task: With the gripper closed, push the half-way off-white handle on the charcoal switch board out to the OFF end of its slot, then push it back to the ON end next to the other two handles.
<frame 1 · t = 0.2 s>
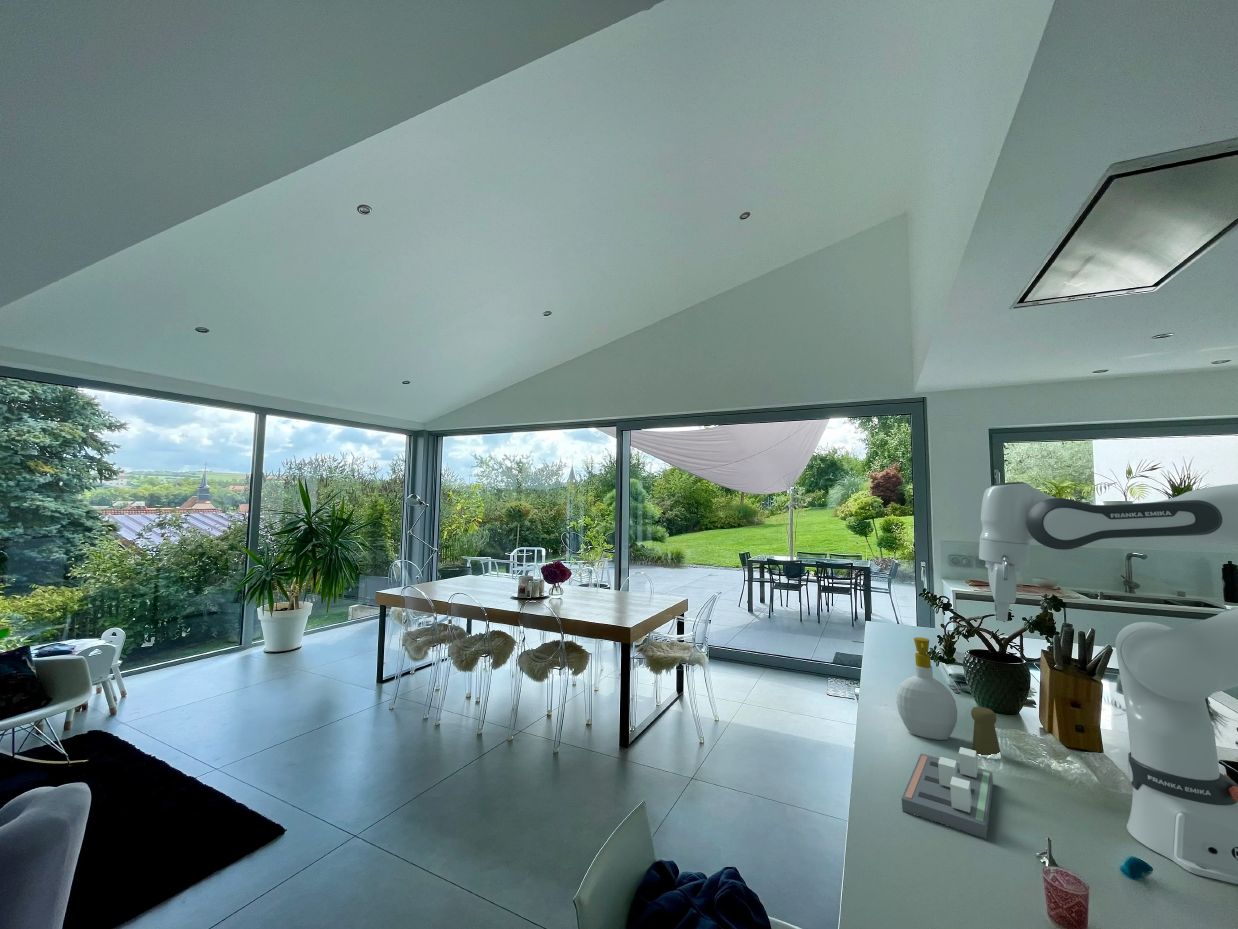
hand: (1000, 616, 109), 38 cm above the worktop, tool pointing down, fingers open, 8 cm apart
cork: (986, 754, 125), on the worktop
tripped switch: (948, 772, 107), point 5 cm above the worktop, slide at 3.0 cm
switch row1: (968, 762, 111), point 5 cm above the worktop, slide at 0.0 cm
soap bottle: (928, 737, 134), on the worktop
switch board: (949, 796, 106), on the worktop
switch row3: (960, 794, 99), point 5 cm above the worktop, slide at 0.0 cm
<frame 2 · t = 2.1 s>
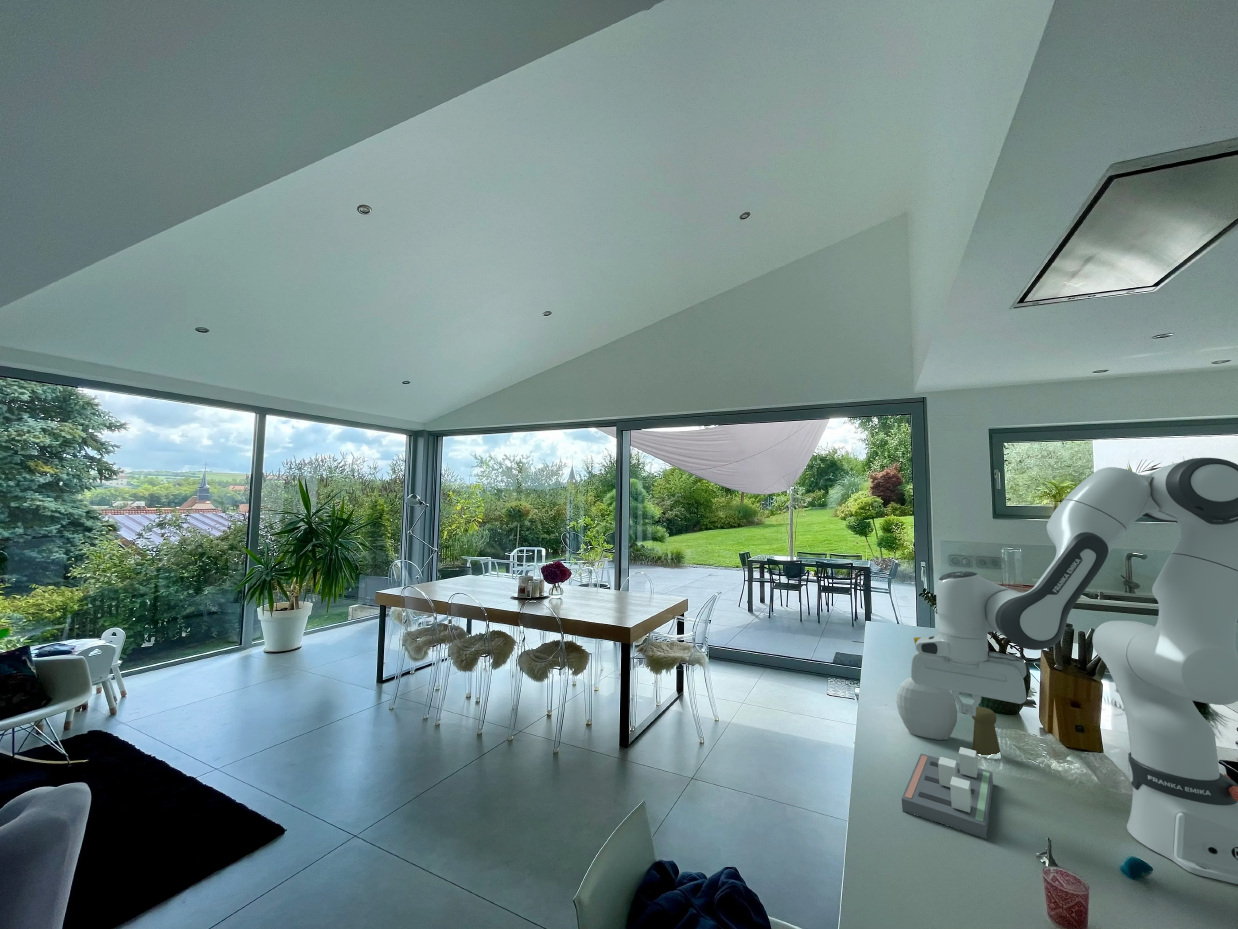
hand: (967, 713, 105), 18 cm above the worktop, tool pointing down, fingers closed
nothing on the worktop moved.
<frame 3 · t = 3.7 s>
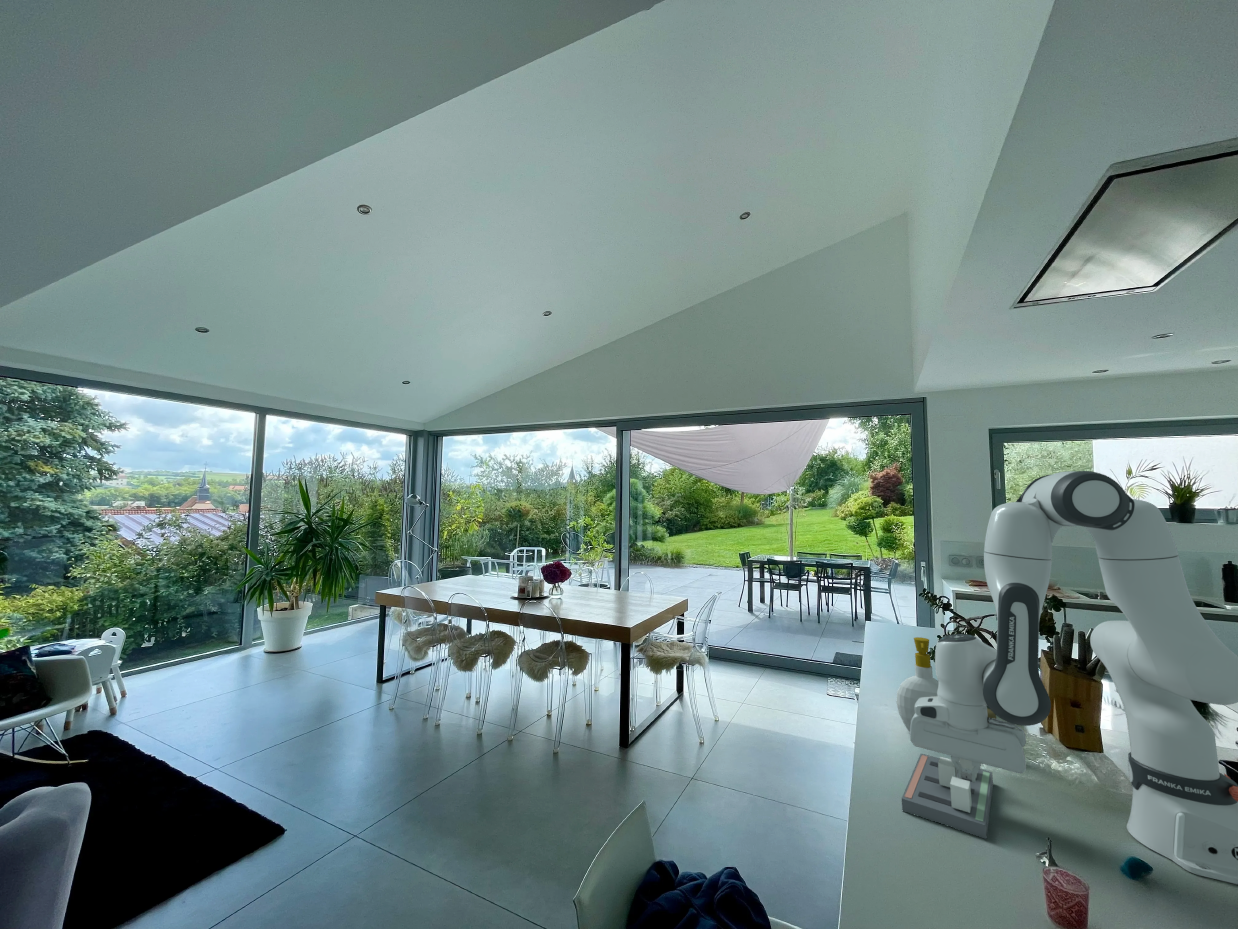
hand: (967, 779, 105), 5 cm above the worktop, tool pointing down, fingers closed
tripped switch: (948, 772, 107), point 5 cm above the worktop, slide at 3.0 cm, touching gripper
everything else where it was.
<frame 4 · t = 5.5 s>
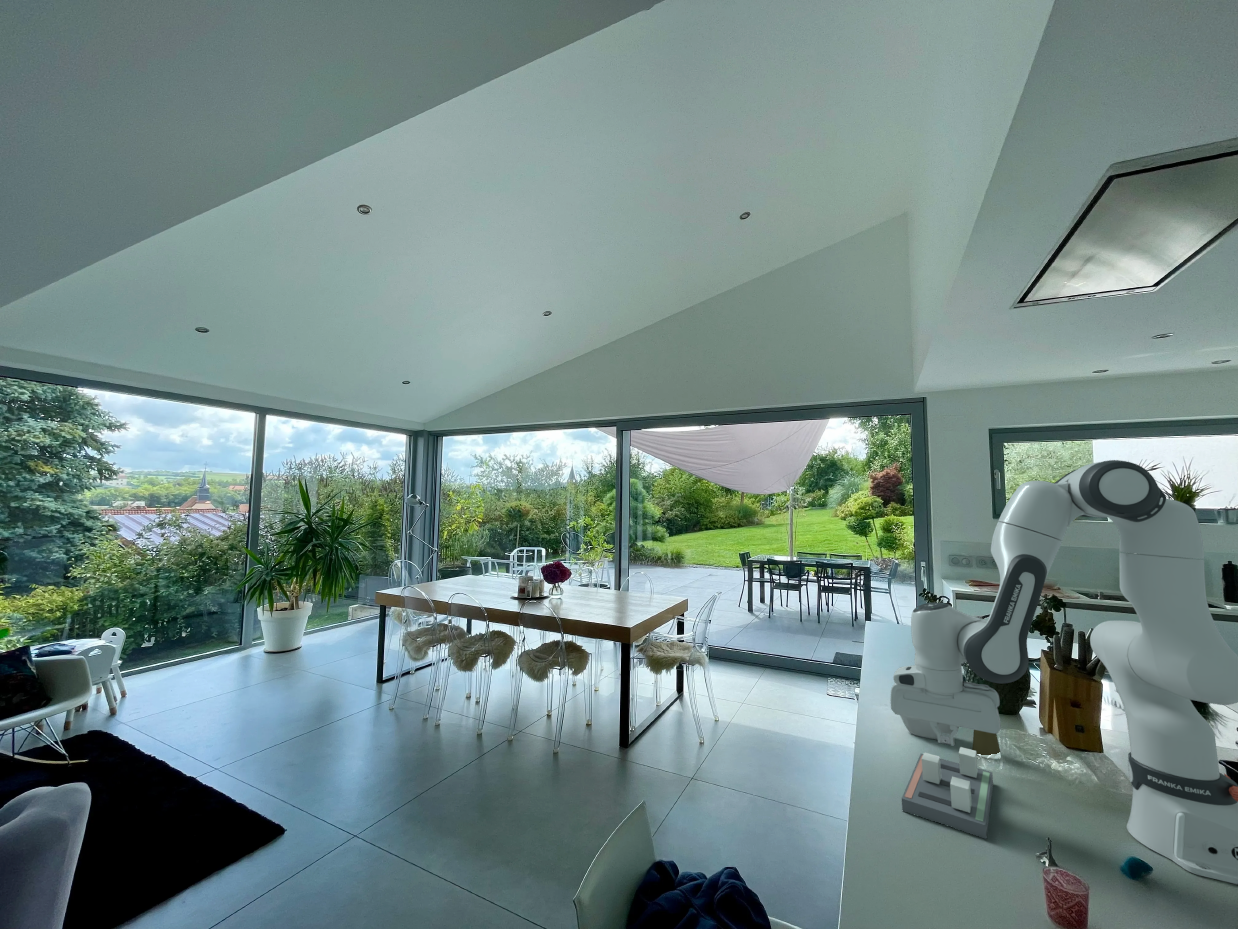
hand: (946, 743, 107), 11 cm above the worktop, tool pointing down, fingers closed
tripped switch: (931, 768, 109), point 5 cm above the worktop, slide at 6.1 cm
everything else where it was.
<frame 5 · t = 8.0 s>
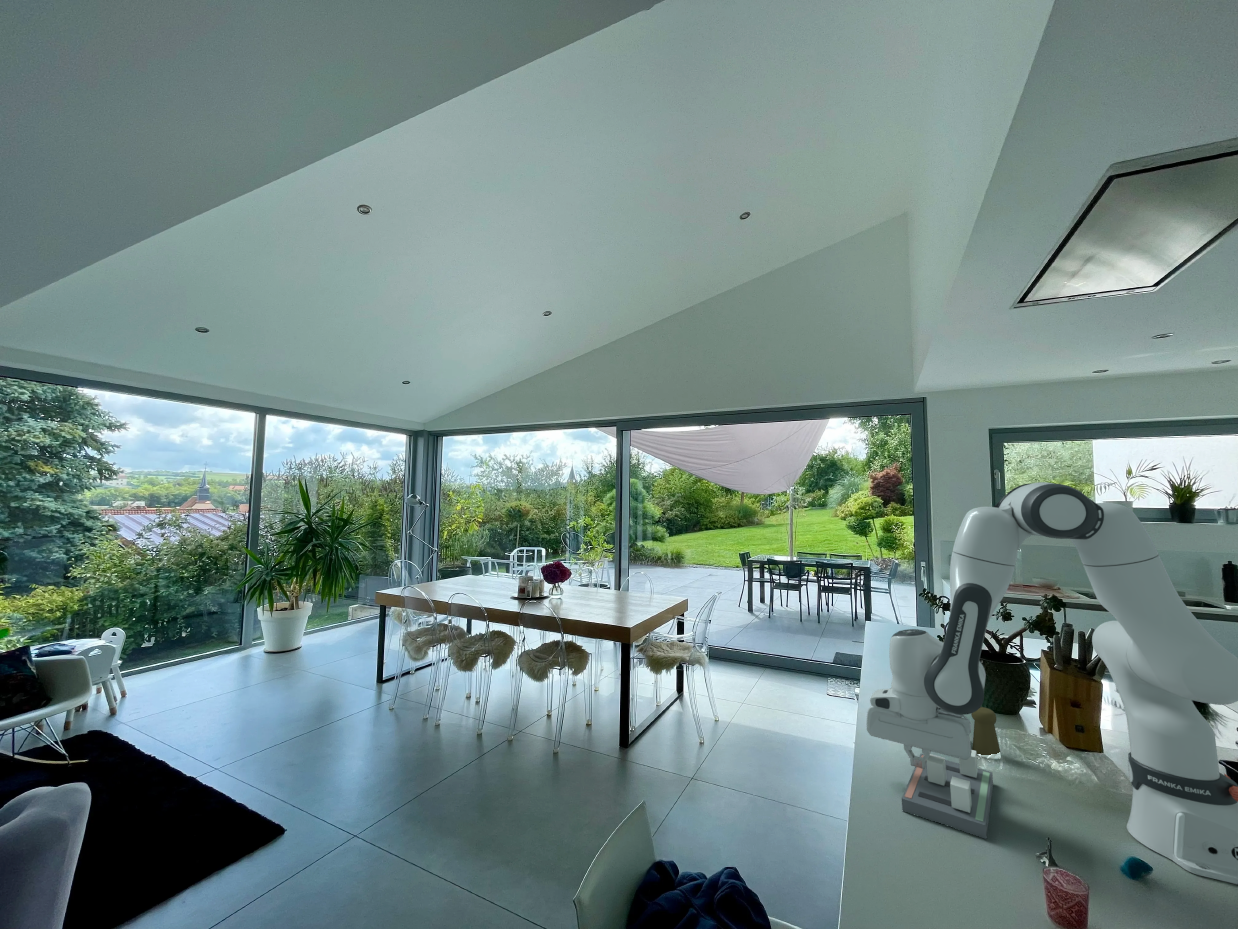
hand: (918, 766, 110), 4 cm above the worktop, tool pointing down, fingers closed
tripped switch: (936, 769, 108), point 5 cm above the worktop, slide at 5.1 cm, touching gripper
everything else where it was.
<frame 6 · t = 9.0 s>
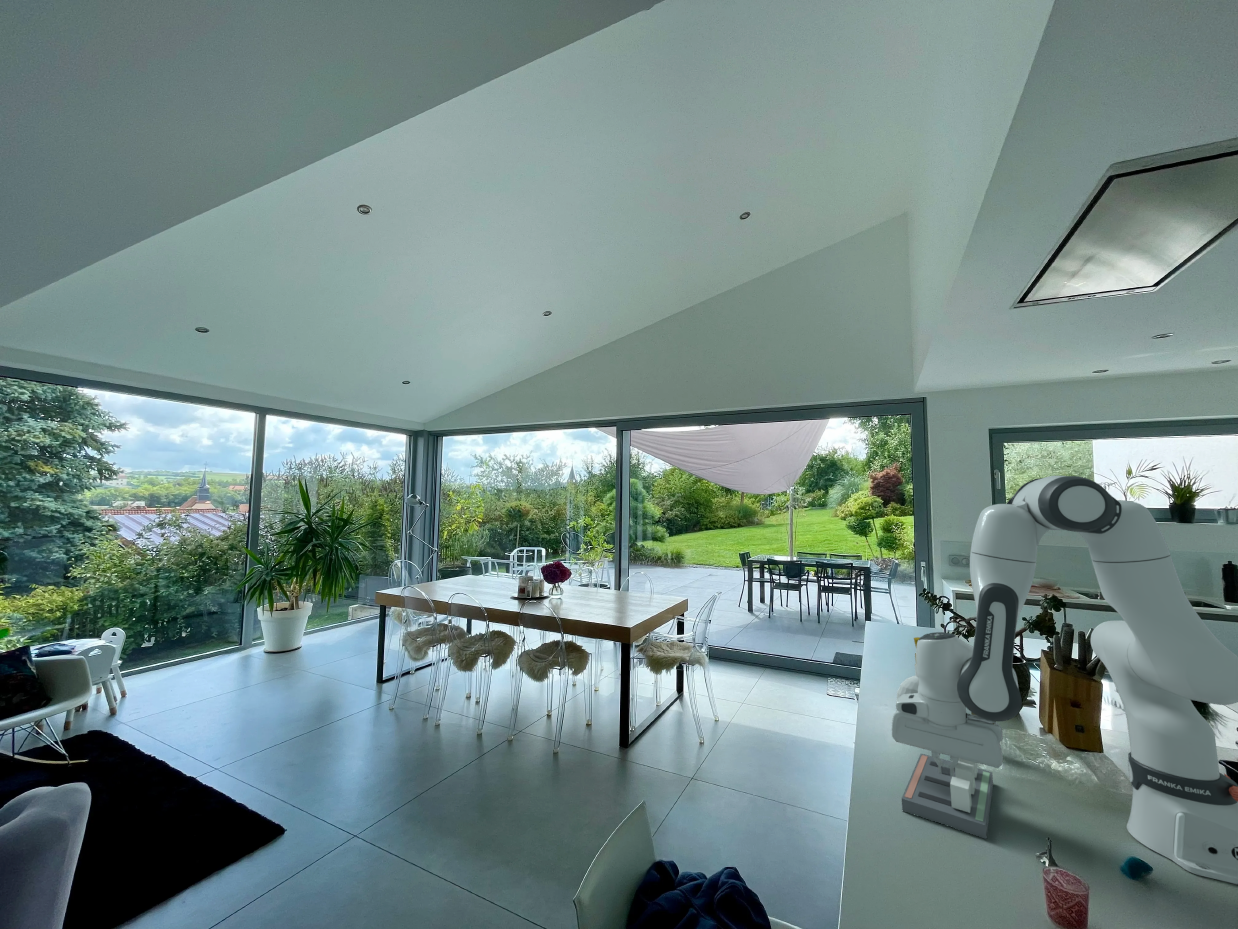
hand: (946, 774, 107), 5 cm above the worktop, tool pointing down, fingers closed
tripped switch: (965, 777, 105), point 5 cm above the worktop, slide at -0.1 cm, touching gripper
everything else where it was.
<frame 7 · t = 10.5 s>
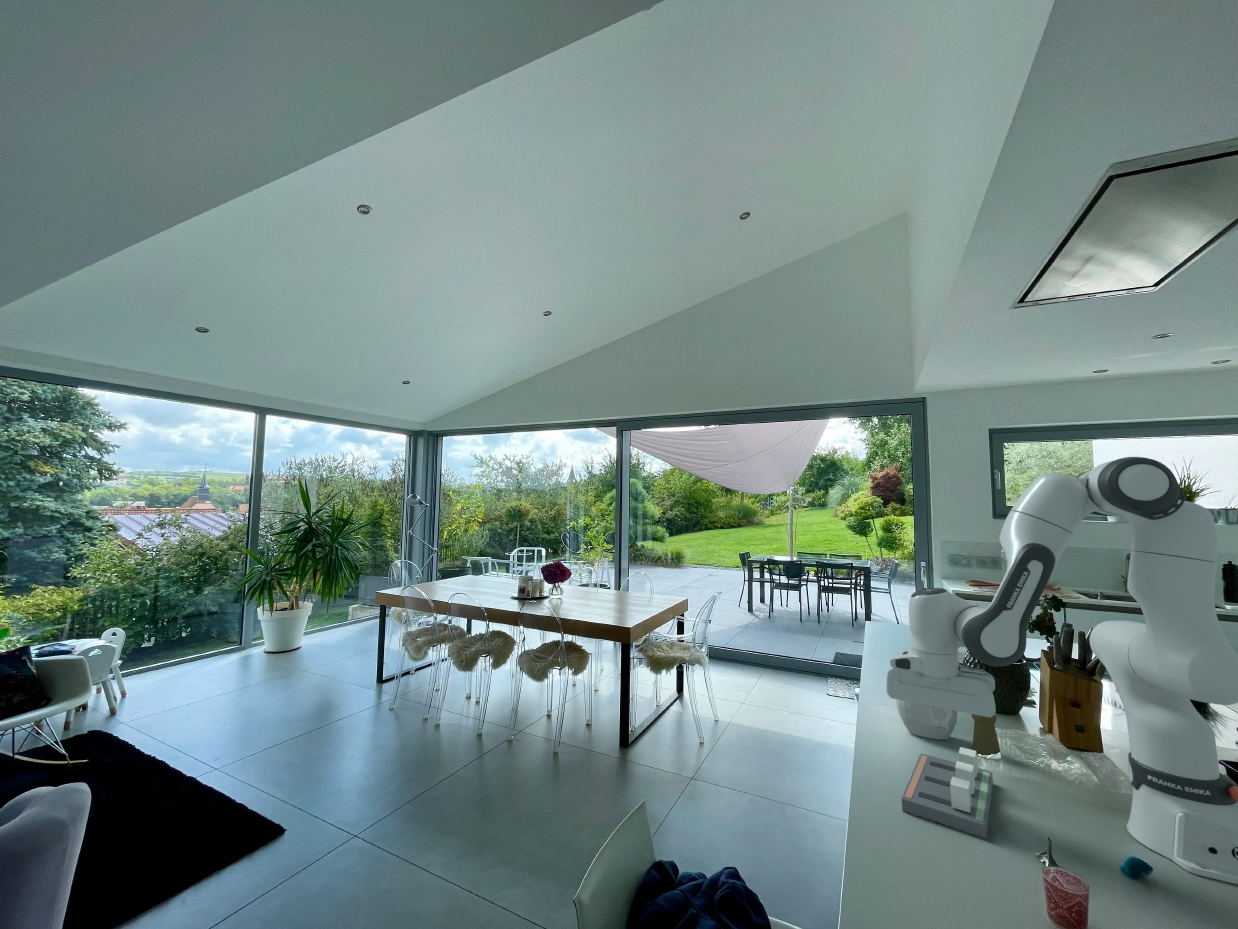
hand: (941, 727, 108), 14 cm above the worktop, tool pointing down, fingers closed
tripped switch: (965, 777, 105), point 5 cm above the worktop, slide at -0.1 cm
everything else where it was.
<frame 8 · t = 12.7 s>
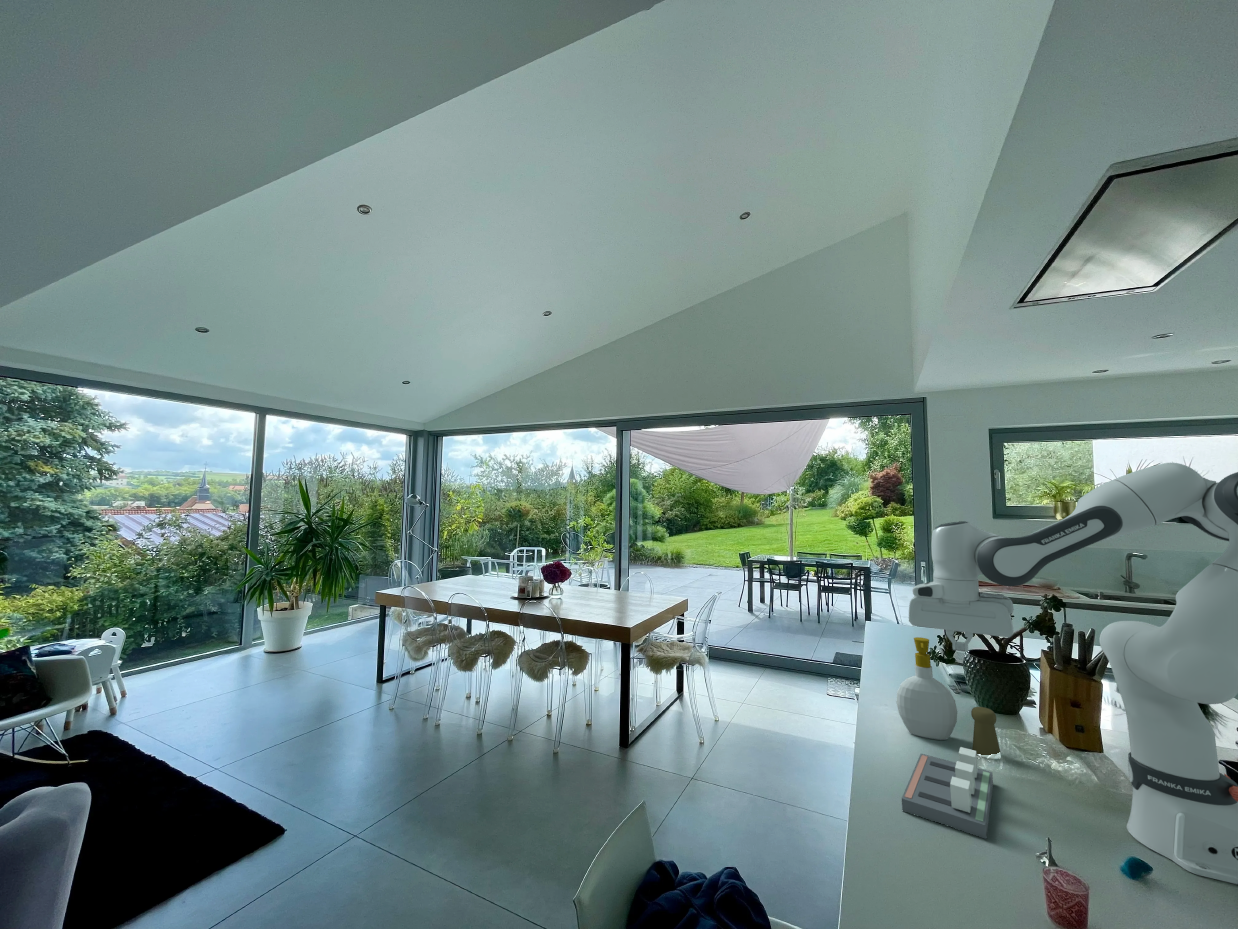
hand: (960, 650, 115), 29 cm above the worktop, tool pointing down, fingers closed
nothing on the worktop moved.
at the end: tripped switch slide at -0.1 cm; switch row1 slide at 0.0 cm; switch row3 slide at 0.0 cm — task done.
